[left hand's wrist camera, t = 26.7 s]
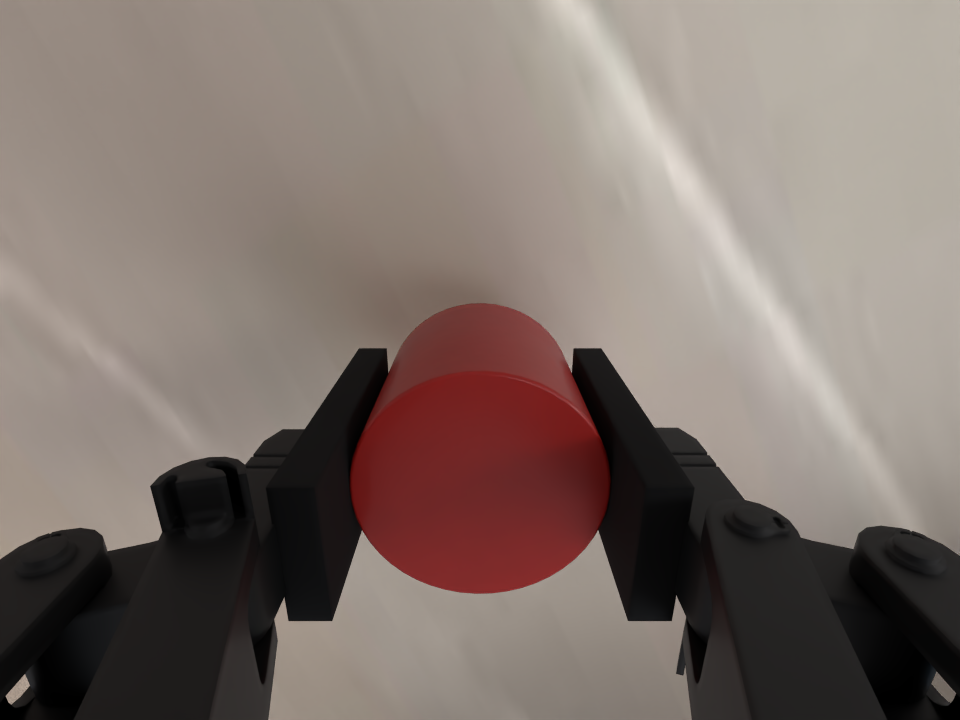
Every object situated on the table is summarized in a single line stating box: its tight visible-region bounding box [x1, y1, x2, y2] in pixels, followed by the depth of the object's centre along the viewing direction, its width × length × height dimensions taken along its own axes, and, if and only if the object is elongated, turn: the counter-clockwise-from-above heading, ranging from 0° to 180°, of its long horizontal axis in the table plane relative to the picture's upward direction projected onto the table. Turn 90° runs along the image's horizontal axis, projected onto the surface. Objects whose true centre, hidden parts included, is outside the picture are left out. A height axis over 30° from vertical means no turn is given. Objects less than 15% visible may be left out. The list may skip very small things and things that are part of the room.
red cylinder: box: [350, 303, 611, 594], centre depth 12 cm, size 5×5×5 cm
